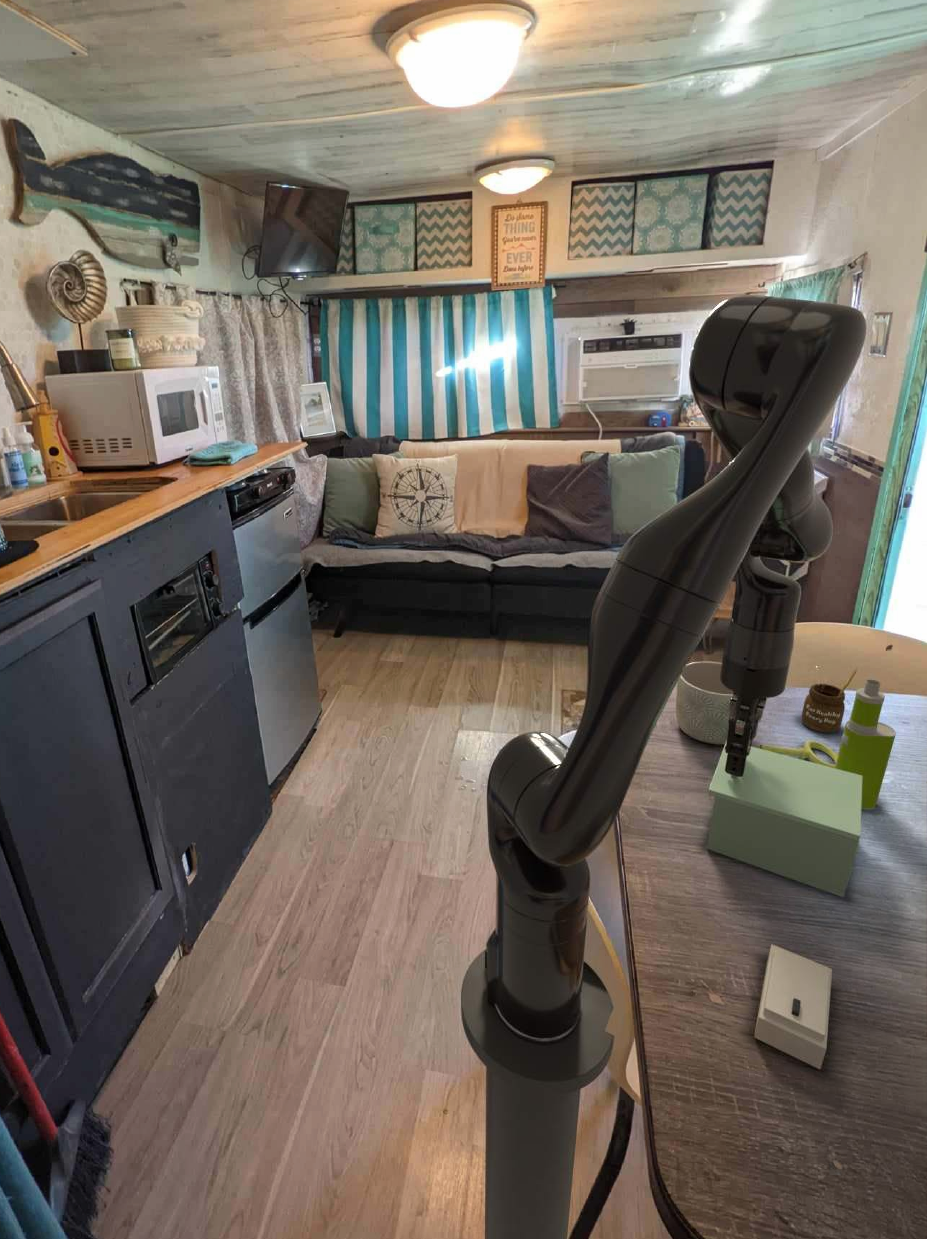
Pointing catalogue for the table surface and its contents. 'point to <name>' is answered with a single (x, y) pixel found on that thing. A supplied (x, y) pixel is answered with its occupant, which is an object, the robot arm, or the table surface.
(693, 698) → the planter
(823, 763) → the key
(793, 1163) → the table surface
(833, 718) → the utensil holder
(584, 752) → the robot arm
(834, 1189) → the table surface
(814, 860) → the box
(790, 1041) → the white power adapter
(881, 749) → the vape
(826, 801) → the lid
